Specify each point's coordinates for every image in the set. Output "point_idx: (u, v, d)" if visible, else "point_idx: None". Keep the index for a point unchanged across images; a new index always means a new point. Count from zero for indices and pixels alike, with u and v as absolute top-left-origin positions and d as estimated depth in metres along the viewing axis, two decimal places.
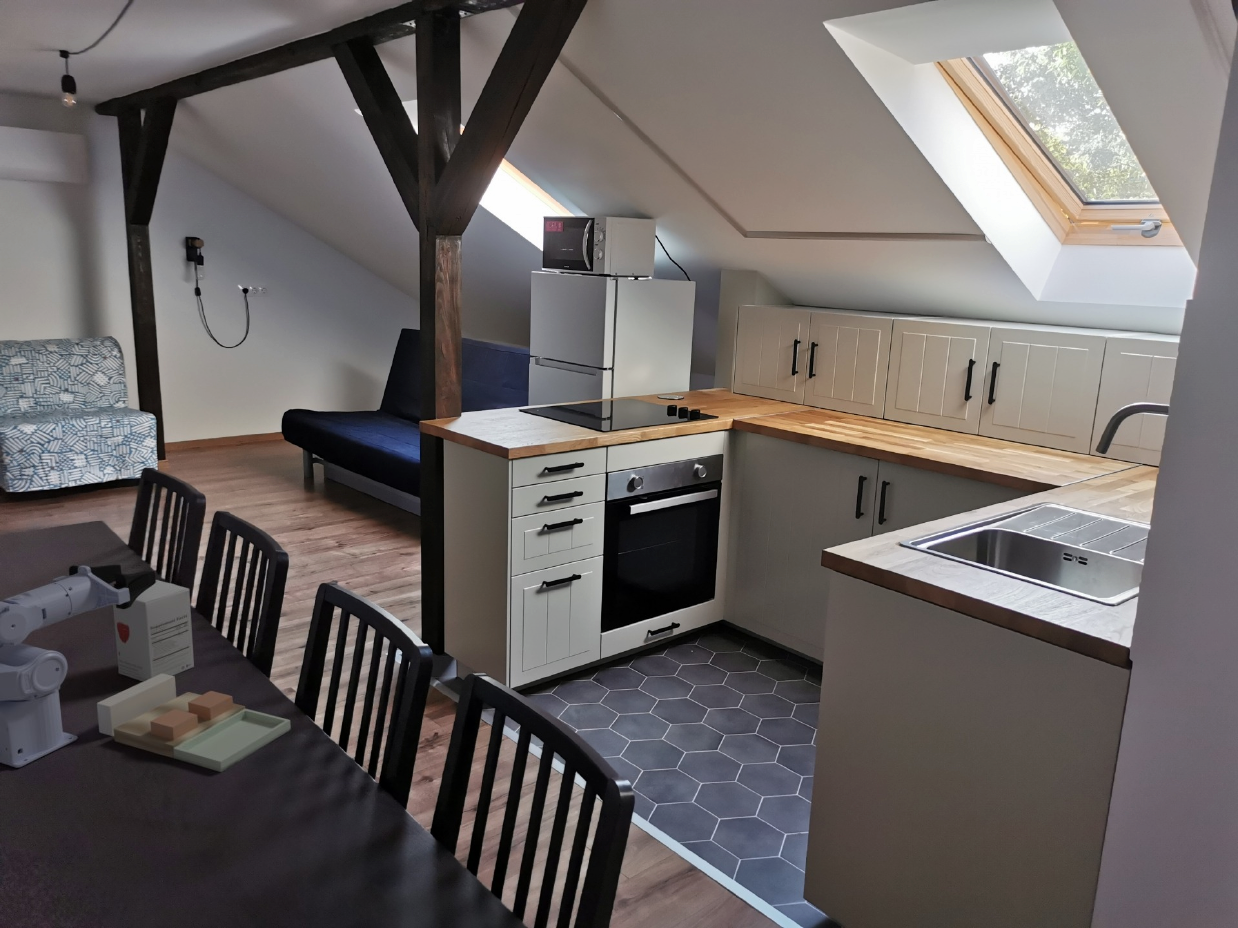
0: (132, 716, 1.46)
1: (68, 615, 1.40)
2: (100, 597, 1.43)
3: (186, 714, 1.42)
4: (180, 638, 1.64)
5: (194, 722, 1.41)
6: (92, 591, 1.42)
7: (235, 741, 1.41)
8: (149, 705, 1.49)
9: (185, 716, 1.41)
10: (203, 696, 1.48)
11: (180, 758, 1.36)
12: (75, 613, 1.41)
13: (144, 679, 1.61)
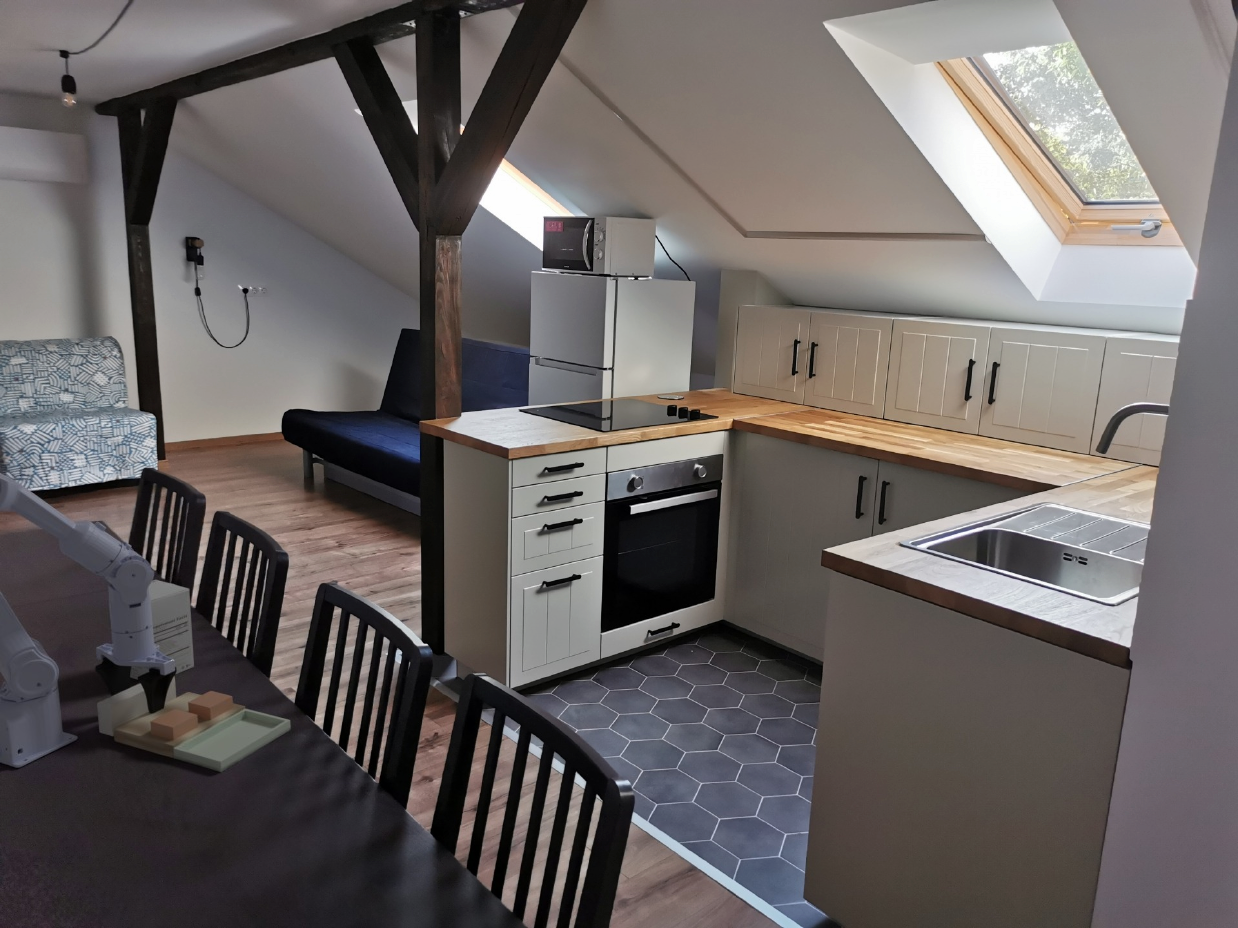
0: (132, 716, 1.46)
1: (123, 632, 1.43)
2: (146, 658, 1.45)
3: (186, 714, 1.42)
4: (180, 638, 1.64)
5: (194, 722, 1.41)
6: (150, 649, 1.46)
7: (235, 741, 1.41)
8: None
9: (185, 716, 1.41)
10: (203, 696, 1.48)
11: (180, 758, 1.36)
12: (131, 639, 1.44)
13: None
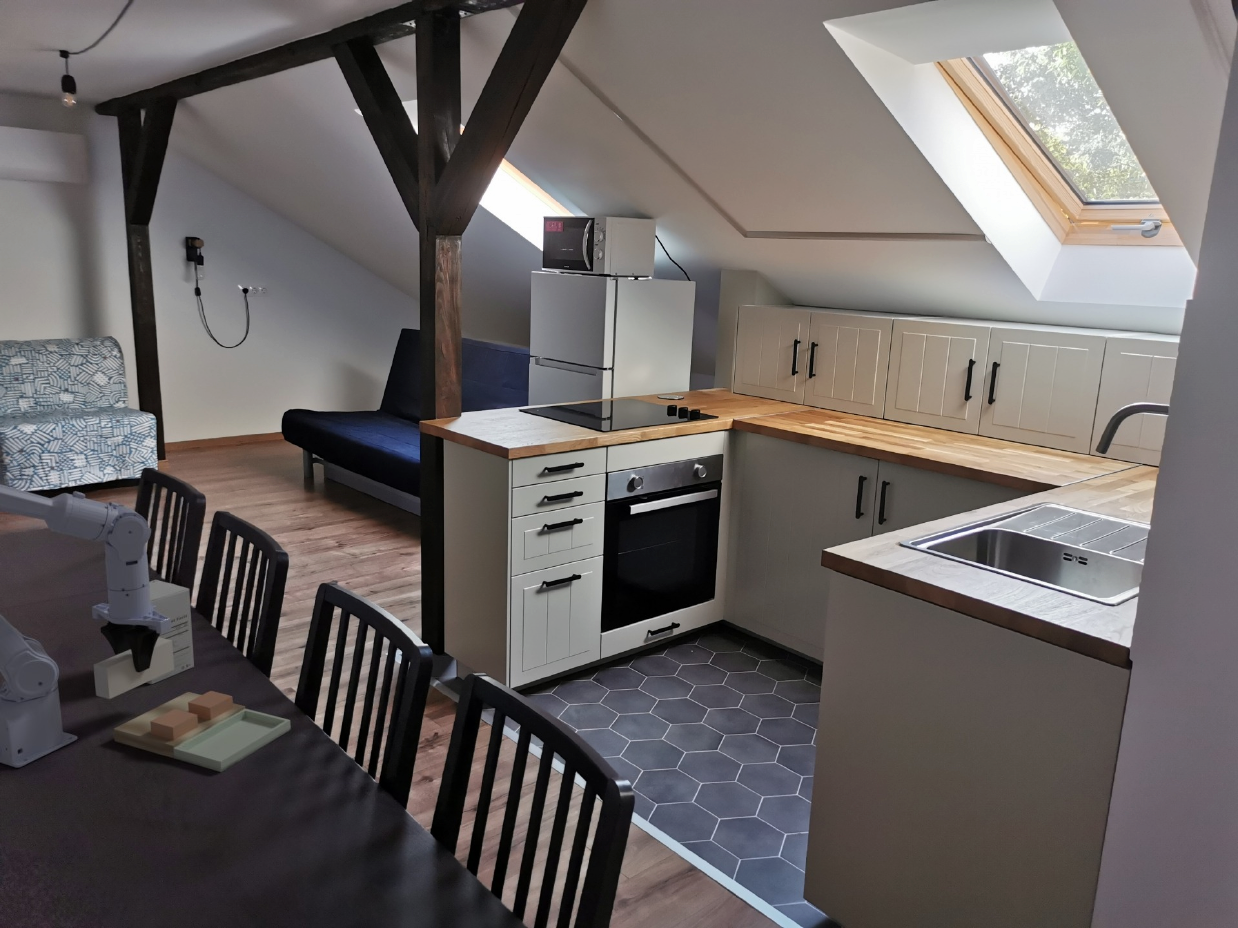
0: (129, 678, 1.45)
1: (119, 589, 1.42)
2: (142, 617, 1.44)
3: (186, 714, 1.42)
4: (180, 638, 1.64)
5: (194, 722, 1.41)
6: (147, 608, 1.45)
7: (235, 741, 1.41)
8: None
9: (185, 716, 1.41)
10: (203, 696, 1.48)
11: (180, 758, 1.36)
12: (127, 597, 1.42)
13: None
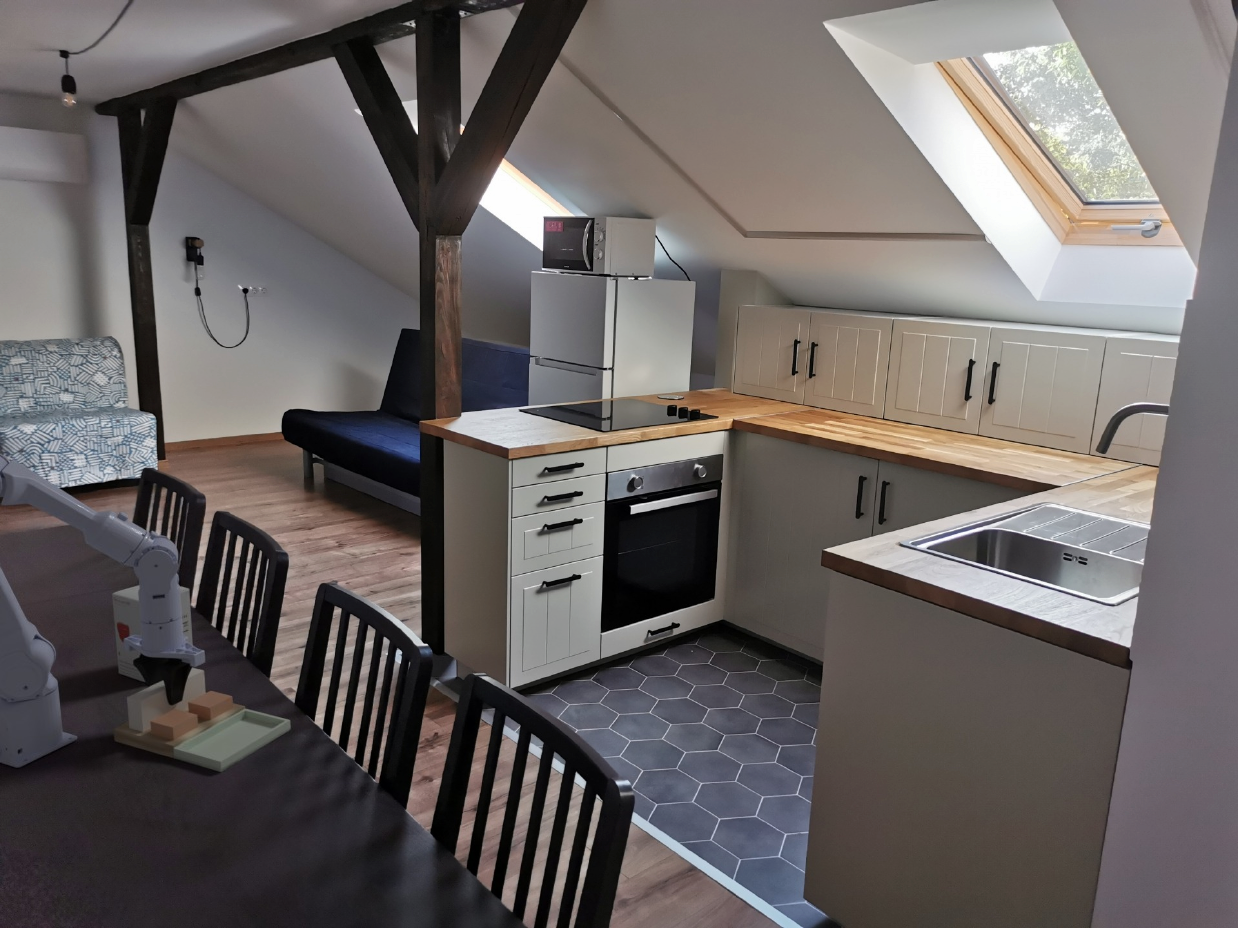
0: (162, 710, 1.43)
1: (147, 622, 1.40)
2: (175, 650, 1.42)
3: (186, 714, 1.42)
4: None
5: (194, 722, 1.41)
6: (180, 641, 1.43)
7: (235, 741, 1.41)
8: None
9: (185, 716, 1.41)
10: (203, 696, 1.48)
11: (180, 758, 1.36)
12: (160, 630, 1.41)
13: None
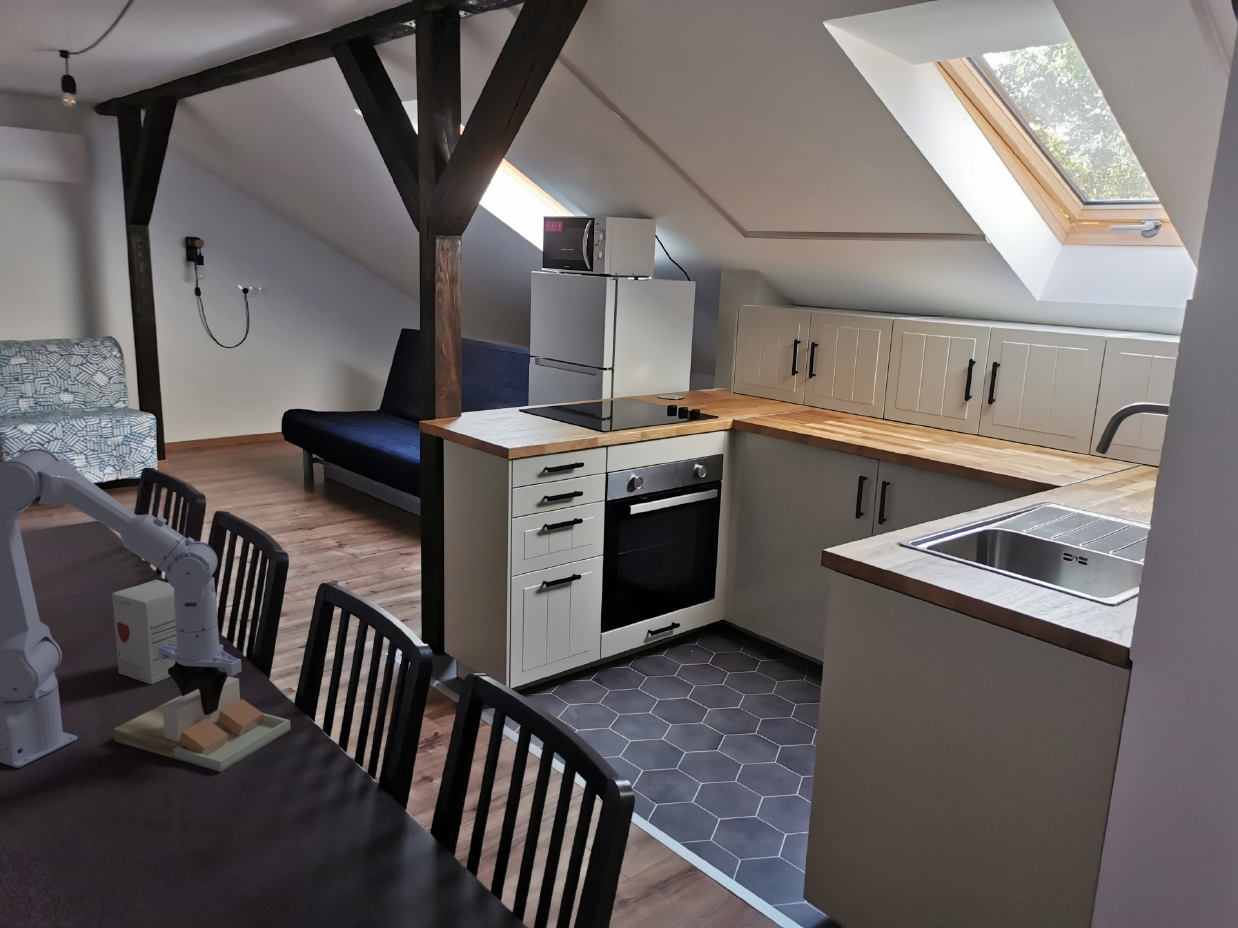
0: (198, 719, 1.41)
1: (180, 629, 1.38)
2: (211, 658, 1.40)
3: (217, 730, 1.40)
4: None
5: (223, 740, 1.40)
6: (216, 649, 1.41)
7: (235, 741, 1.41)
8: None
9: (216, 733, 1.39)
10: (235, 705, 1.46)
11: (180, 758, 1.36)
12: (196, 638, 1.38)
13: (144, 679, 1.61)
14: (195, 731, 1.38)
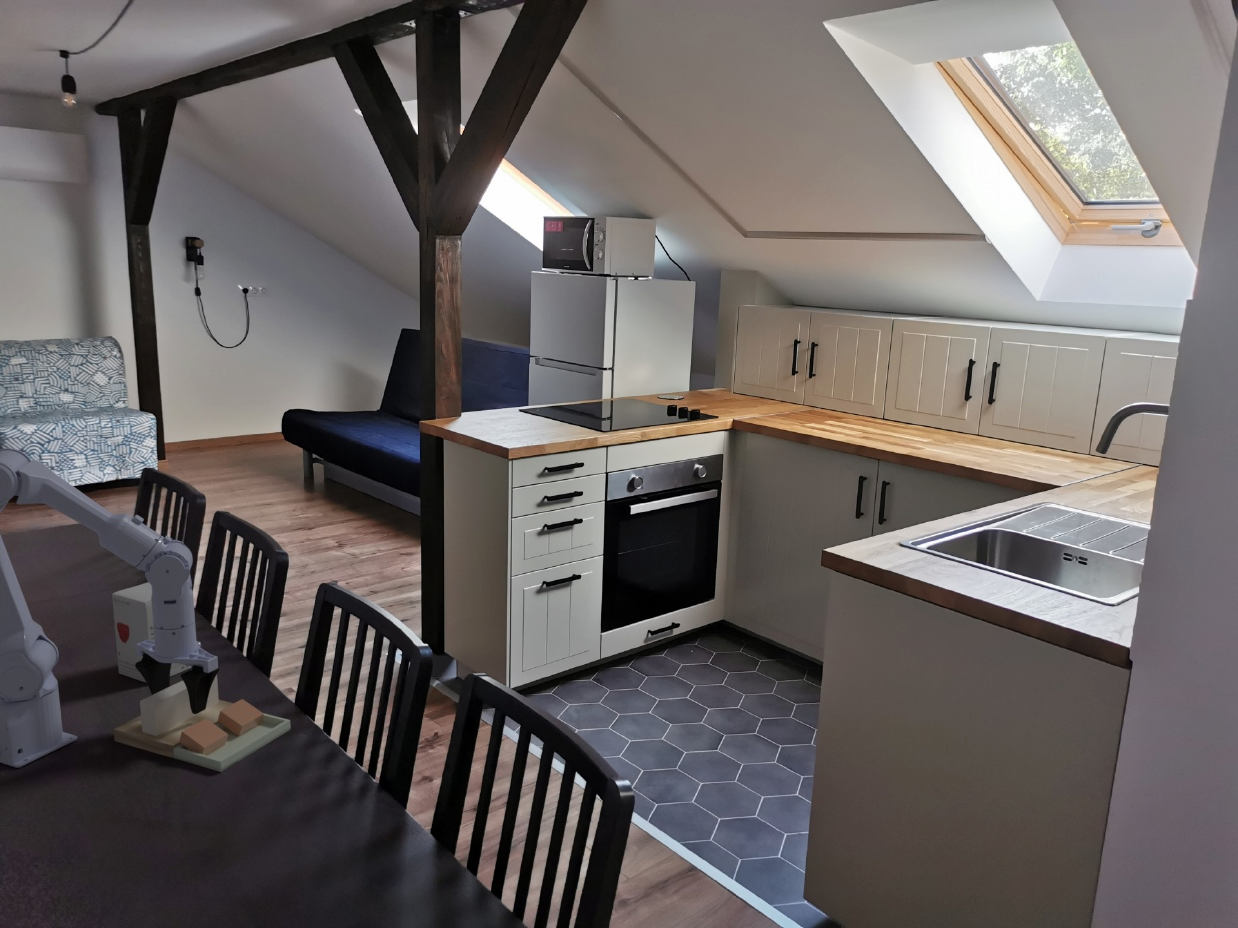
0: (175, 714, 1.42)
1: (159, 627, 1.39)
2: (188, 655, 1.41)
3: (217, 730, 1.40)
4: None
5: (223, 740, 1.40)
6: (193, 646, 1.42)
7: (235, 741, 1.41)
8: None
9: (216, 733, 1.39)
10: (235, 706, 1.46)
11: (180, 758, 1.36)
12: (173, 635, 1.40)
13: (144, 679, 1.61)
14: (195, 731, 1.38)
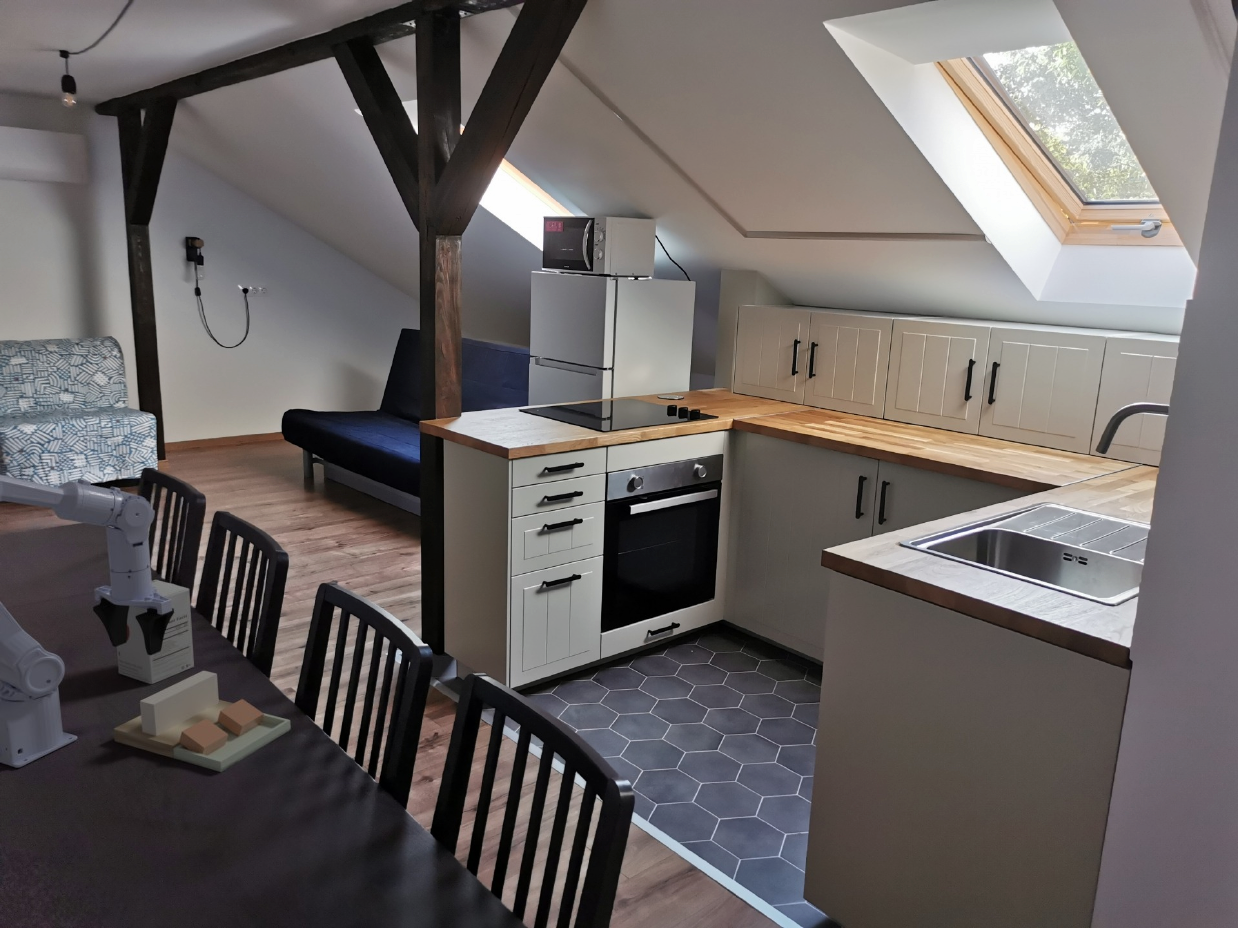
0: (175, 714, 1.42)
1: (126, 571, 1.45)
2: (143, 598, 1.47)
3: (217, 730, 1.40)
4: (180, 638, 1.64)
5: (223, 740, 1.40)
6: (148, 590, 1.48)
7: (235, 741, 1.41)
8: (192, 703, 1.45)
9: (216, 733, 1.39)
10: (235, 706, 1.46)
11: (180, 758, 1.36)
12: (128, 578, 1.46)
13: (144, 679, 1.61)
14: (195, 731, 1.38)
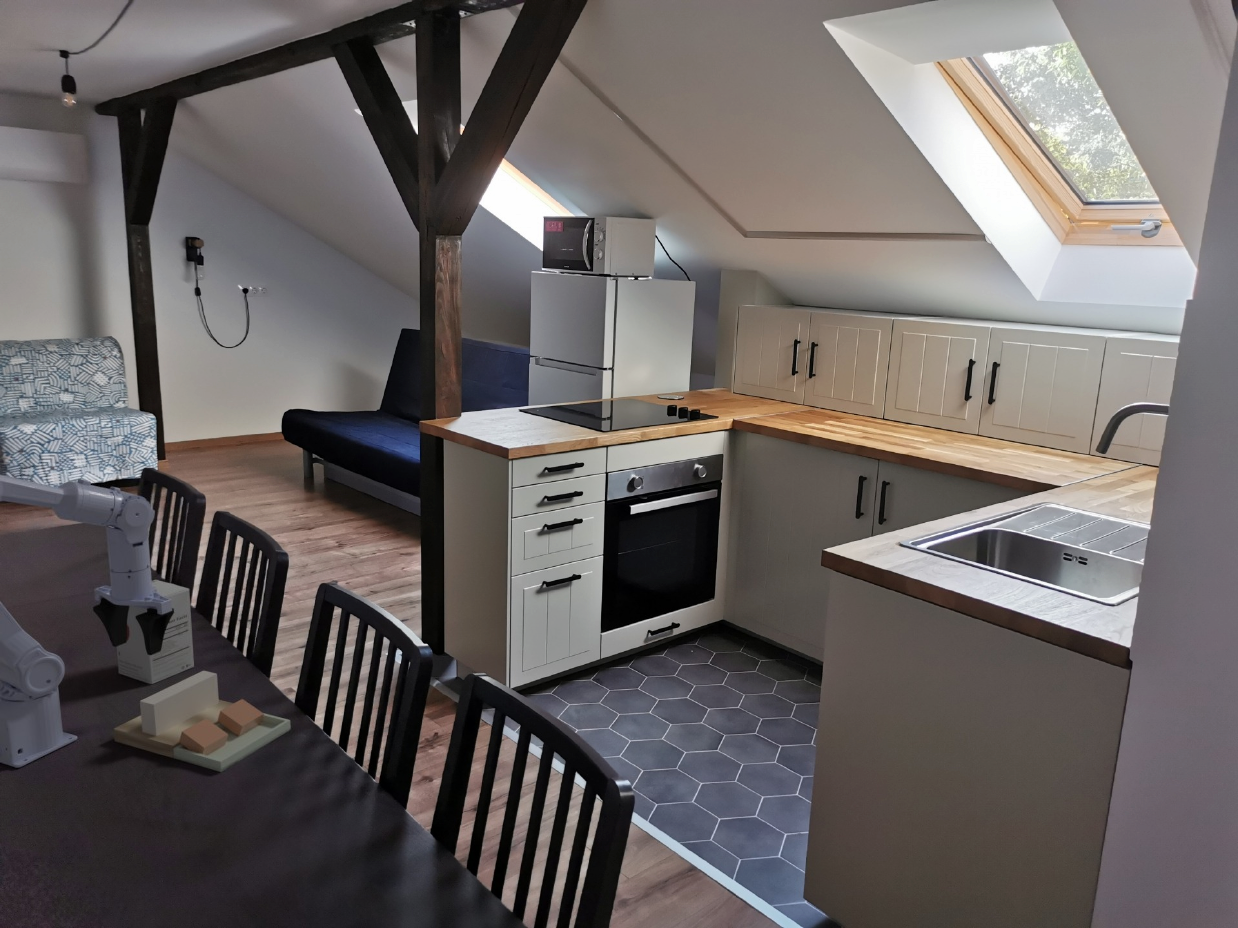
0: (175, 714, 1.42)
1: (126, 571, 1.45)
2: (143, 598, 1.47)
3: (217, 730, 1.40)
4: (180, 638, 1.64)
5: (223, 740, 1.40)
6: (148, 590, 1.48)
7: (235, 741, 1.41)
8: (192, 703, 1.45)
9: (216, 733, 1.39)
10: (235, 706, 1.46)
11: (180, 758, 1.36)
12: (128, 578, 1.46)
13: (144, 679, 1.61)
14: (195, 731, 1.38)
